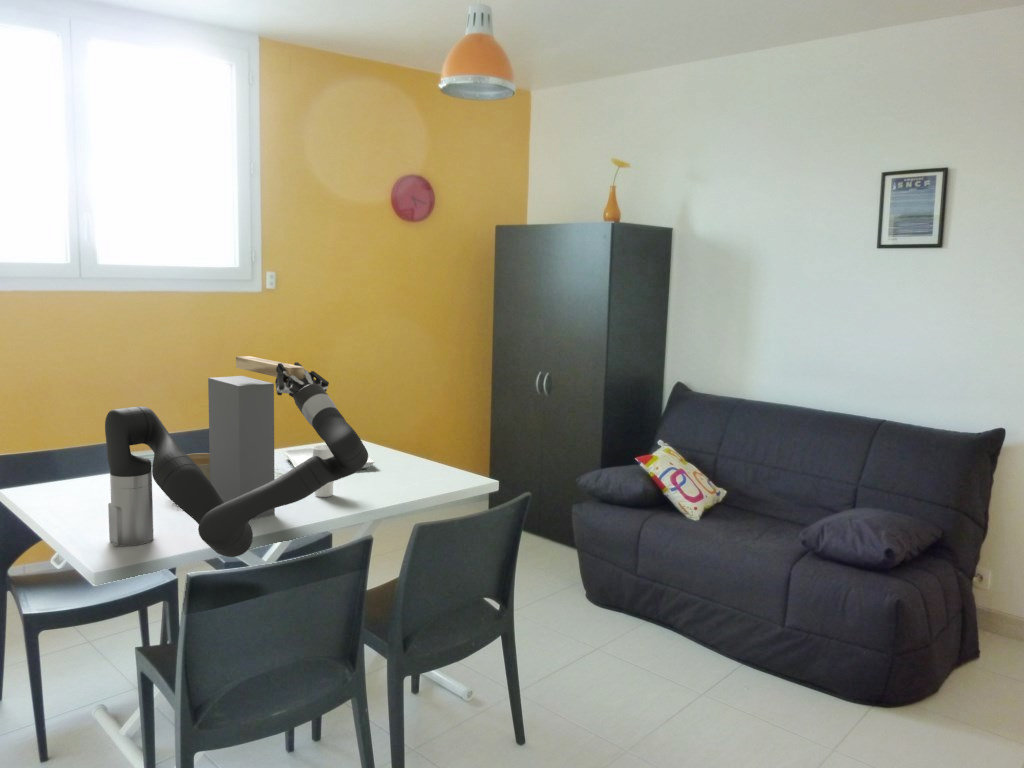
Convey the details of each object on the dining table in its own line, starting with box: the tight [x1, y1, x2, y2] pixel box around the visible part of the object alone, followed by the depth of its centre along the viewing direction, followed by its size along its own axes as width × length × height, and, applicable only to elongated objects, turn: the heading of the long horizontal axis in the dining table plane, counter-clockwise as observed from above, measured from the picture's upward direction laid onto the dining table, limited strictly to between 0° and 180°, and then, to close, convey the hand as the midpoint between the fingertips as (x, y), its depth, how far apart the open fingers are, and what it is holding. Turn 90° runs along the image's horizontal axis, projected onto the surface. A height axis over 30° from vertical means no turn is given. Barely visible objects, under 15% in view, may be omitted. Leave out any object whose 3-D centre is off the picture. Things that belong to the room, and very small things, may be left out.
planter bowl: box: [186, 452, 210, 481], centre depth 238 cm, size 16×16×11 cm
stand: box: [207, 375, 276, 520], centre depth 222 cm, size 10×20×37 cm, turn 43°
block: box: [235, 355, 305, 380], centre depth 207 cm, size 4×30×3 cm, turn 44°
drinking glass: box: [312, 444, 335, 498], centre depth 241 cm, size 7×7×15 cm
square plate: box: [282, 447, 375, 470], centre depth 282 cm, size 27×27×4 cm
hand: (287, 365), depth 199 cm, fingers closed on block, 4 cm apart
